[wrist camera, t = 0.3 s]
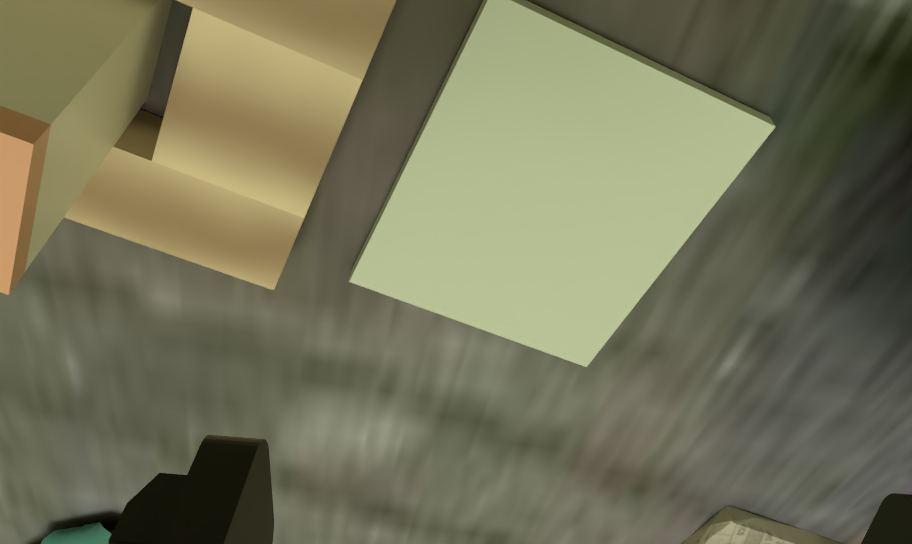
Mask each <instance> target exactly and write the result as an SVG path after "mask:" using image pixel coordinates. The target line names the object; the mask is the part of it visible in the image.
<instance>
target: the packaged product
mask: <svg viewBox="0 0 912 544" xmlns="http://www.w3.org/2000/svg"><path fill="white" fill-rule="evenodd" d="M682 544H841V543H838V542H836V541H833V540H830V539H827V538H824V537H821V536H819V535H816V534H813V533H810V532H807V531H804V530H802V529H798V528H795V527H792V526H789V525H786V524H783V523H780V522H777V521H774V520H771V519H768V518H764V517H761V516H758V515H755V514H752V513H749V512H746V511H743V510H740V509H736V508H732V507H728V506H727V507H725V508H724V509H722V510H721V511H720V512H719V513H717V514H716V515H715V516H714V517H713V518H712V519H710V520H709V521H708V522H707V523H706V524H704V525H703V526H702V527H701V528H700V529H699V530H697V531H696V532H695V533H694V534H693V535H692V536H691V537H690V538H688V539H687V540H686V541H684V542H683V543H682Z"/></svg>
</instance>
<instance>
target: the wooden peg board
mask: <svg viewBox="0 0 912 544" xmlns="http://www.w3.org/2000/svg"><path fill="white" fill-rule="evenodd" d="M176 1H179V2H181V3H183V4H186V5H188V6H190V7H193V10H192V13H191V17H190V21H189V24H188V28H187V32H186V36H185V39H184V43H183V47H182V50H181V54H180V58H179V62H178V65H177V69H176V73H175V76H174V80H173V84H172V88H171V91H170V95H169V99H168V102H167V106H166V110H165V114H164V117H163V118H162V117H159V116H157V115H154V114H152V113H149V112H146V111H144V110H141V109H140V110H139V111H138V112H137V114H136V115H135V117H134V118H133V120H132V121H131V122H130V124H129V125H128V127H127V128H126V129H125V131H124V132H123V134H122V135H121V137H120V138H119V139H118V141H117V142H116V144H115V145H114V146H113V148H112V149H111V151H110V152H109V154H108V155H107V156H106V158H105V159H104V161H103V162H102V163H101V165H100V166H99V168H98V169H97V171H96V172H95V173H94V175H93V176H92V178H91V179H90V180H89V182H88V183H87V185H86V186H85V188H84V189H83V190H82V192H81V193H80V195H79V196H78V197H77V199H76V200H75V202H74V203H73V205H72V206H71V207H70V209H69V210H68V212H67V213H66V214H65V216H64V218H67V219H70V220H73V221H76V222H79V223H82V224H84V225H87V226H90V227H93V228H96V229H99V230H102V231H105V232H107V233H110V234H113V235H116V236H119V237H122V238H125V239H128V240H130V241H133V242H136V243H139V244H142V245H145V246H148V247H151V248H153V249H156V250H159V251H162V252H165V253H168V254H171V255H174V256H176V257H179V258H182V259H185V260H188V261H191V262H194V263H197V264H199V265H202V266H205V267H208V268H211V269H214V270H217V271H220V272H222V273H225V274H228V275H231V276H234V277H237V278H240V279H243V280H245V281H248V282H251V283H254V284H257V285H260V286H263V287H266V288H268V289H271V290H274V288H275V286H276V284H277V281H278V279H279V277H280V274H281V272H282V270H283V267H284V265H285V262H286V260H287V258H288V255H289V253H290V251H291V248H292V246H293V244H294V241H295V239H296V236H297V234H298V232H299V229H300V227H301V225H302V222H303V220H304V217H305V215H306V213H307V210H308V208H309V206H310V203H311V201H312V199H313V196H314V194H315V191H316V189H317V187H318V184H319V182H320V180H321V177H322V175H323V173H324V170H325V168H326V165H327V163H328V161H329V158H330V156H331V154H332V151H333V149H334V147H335V144H336V142H337V139H338V137H339V135H340V132H341V130H342V128H343V125H344V123H345V120H346V118H347V116H348V113H349V111H350V109H351V106H352V104H353V102H354V99H355V97H356V94H357V92H358V90H359V87H360V85H361V83H362V80H363V78H364V76H365V73H366V71H367V68H368V66H369V64H370V61H371V59H372V57H373V54H374V52H375V50H376V47H377V45H378V42H379V40H380V38H381V35H382V33H383V31H384V28H385V26H386V23H387V21H388V19H389V16H390V14H391V12H392V9H393V7H394V5H395V2H396V0H176Z"/></svg>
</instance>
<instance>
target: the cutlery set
mask: <svg viewBox="0 0 912 544" xmlns="http://www.w3.org/2000/svg"><path fill="white" fill-rule="evenodd" d="M112 532H113V531H107V530H106V529H105V528H103V526H102V525H101V523H100V522H98V523H93V524H87V525H84V526H81V527H72V528H67V529H60V530H55V531H53V532H52V533H51V534H49V535H48V536H47V537H45V538H44V539H43V540H42V542H41V544H108V543H109V541H108V540H109V538H110V536H111V534H112Z"/></svg>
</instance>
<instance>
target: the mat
mask: <svg viewBox="0 0 912 544" xmlns="http://www.w3.org/2000/svg"><path fill="white" fill-rule="evenodd" d="M775 127H776V126H775V125H774V123H773V122H772V120H771V119H770V117H769V116H766V115H764V114H762V113H760V112H758V111H756V110H754V109H752V108H750V107H748V106H746V105H743V104H741V103H739V102H737V101H735V100H733V99H731V98H729V97H727V96H725V95H723V94H721V93H718V92H716V91H714V90H712V89H710V88H708V87H706V86H704V85H702V84H700V83H698V82H696V81H693V80H691V79H689V78H687V77H685V76H683V75H681V74H679V73H677V72H675V71H673V70H671V69H668V68H666V67H664V66H662V65H660V64H658V63H656V62H654V61H652V60H650V59H648V58H645V57H643V56H641V55H639V54H637V53H635V52H633V51H631V50H629V49H627V48H625V47H623V46H620V45H618V44H616V43H614V42H612V41H610V40H608V39H606V38H604V37H602V36H600V35H598V34H595V33H593V32H591V31H589V30H587V29H585V28H583V27H581V26H579V25H577V24H575V23H573V22H570V21H568V20H566V19H564V18H562V17H560V16H558V15H556V14H554V13H552V12H550V11H547V10H545V9H543V8H541V7H539V6H537V5H535V4H533V3H531V2H529V1H527V0H483V2H482V4H481V6H480V8H479V10H478V12H477V14H476V16H475V18H474V20H473V23H472V25H471V27H470V29H469V31H468V33H467V35H466V37H465V39H464V41H463V43H462V45H461V47H460V49H459V51H458V53H457V55H456V57H455V59H454V61H453V63H452V65H451V68H450V70H449V72H448V74H447V76H446V78H445V80H444V82H443V84H442V86H441V88H440V90H439V92H438V94H437V96H436V98H435V100H434V102H433V104H432V106H431V108H430V110H429V113H428V115H427V117H426V119H425V121H424V123H423V125H422V127H421V129H420V131H419V133H418V135H417V137H416V139H415V141H414V143H413V145H412V147H411V149H410V151H409V153H408V155H407V158H406V160H405V162H404V164H403V166H402V168H401V170H400V172H399V174H398V176H397V178H396V180H395V182H394V184H393V186H392V188H391V190H390V192H389V194H388V196H387V198H386V200H385V203H384V205H383V207H382V209H381V211H380V213H379V215H378V217H377V219H376V221H375V223H374V225H373V227H372V229H371V231H370V233H369V235H368V237H367V239H366V241H365V243H364V245H363V248H362V250H361V252H360V254H359V256H358V258H357V260H356V262H355V264H354V266H353V268H352V270H351V274H350V280H349V282H351V283H354V284H357V285H360V286H362V287H365V288H368V289H371V290H373V291H376V292H379V293H382V294H385V295H387V296H390V297H393V298H396V299H399V300H401V301H404V302H407V303H410V304H412V305H415V306H418V307H421V308H424V309H426V310H429V311H432V312H435V313H438V314H440V315H443V316H446V317H449V318H451V319H454V320H457V321H460V322H463V323H465V324H468V325H471V326H474V327H476V328H479V329H482V330H485V331H488V332H490V333H493V334H496V335H499V336H502V337H504V338H507V339H510V340H513V341H515V342H518V343H521V344H524V345H527V346H529V347H532V348H535V349H538V350H540V351H543V352H546V353H549V354H552V355H554V356H557V357H560V358H563V359H566V360H568V361H571V362H574V363H577V364H579V365H582V366H585V367H587V366H588V365H589V363H590V362H591V361H592V359H593V358H594V357H595V356H596V354H597V353H598V352H599V351H600V349H601V348H602V347H603V345H604V344H605V343H606V342H607V340H608V339H609V338H610V337H611V335H612V334H613V333H614V331H615V330H616V329H617V328H618V326H619V325H620V324H621V323H622V321H623V320H624V319H625V317H626V316H627V315H628V314H629V312H630V311H631V310H632V309H633V307H634V306H635V305H636V304H637V302H638V301H639V300H640V298H641V297H642V296H643V295H644V293H645V292H646V291H647V290H648V288H649V287H650V286H651V284H652V283H653V282H654V281H655V279H656V278H657V277H658V276H659V274H660V273H661V272H662V270H663V269H664V268H665V267H666V265H667V264H668V263H669V262H670V260H671V259H672V258H673V256H674V255H675V254H676V253H677V251H678V250H679V249H680V248H681V246H682V245H683V244H684V242H685V241H686V240H687V239H688V237H689V236H690V235H691V234H692V232H693V231H694V230H695V229H696V227H697V226H698V225H699V223H700V222H701V221H702V220H703V218H704V217H705V216H706V215H707V213H708V212H709V211H710V209H711V208H712V207H713V206H714V204H715V203H716V202H717V201H718V199H719V198H720V197H721V195H722V194H723V193H724V192H725V190H726V189H727V188H728V187H729V185H730V184H731V183H732V181H733V180H734V179H735V178H736V176H737V175H738V174H739V173H740V171H741V170H742V169H743V167H744V166H745V165H746V164H747V162H748V161H749V160H750V159H751V157H752V156H753V155H754V153H755V152H756V151H757V150H758V148H759V147H760V146H761V145H762V143H763V142H764V141H765V140H766V138H767V137H768V136H769V134H770V133H771V132H772V131H773V129H774V128H775Z"/></svg>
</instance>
